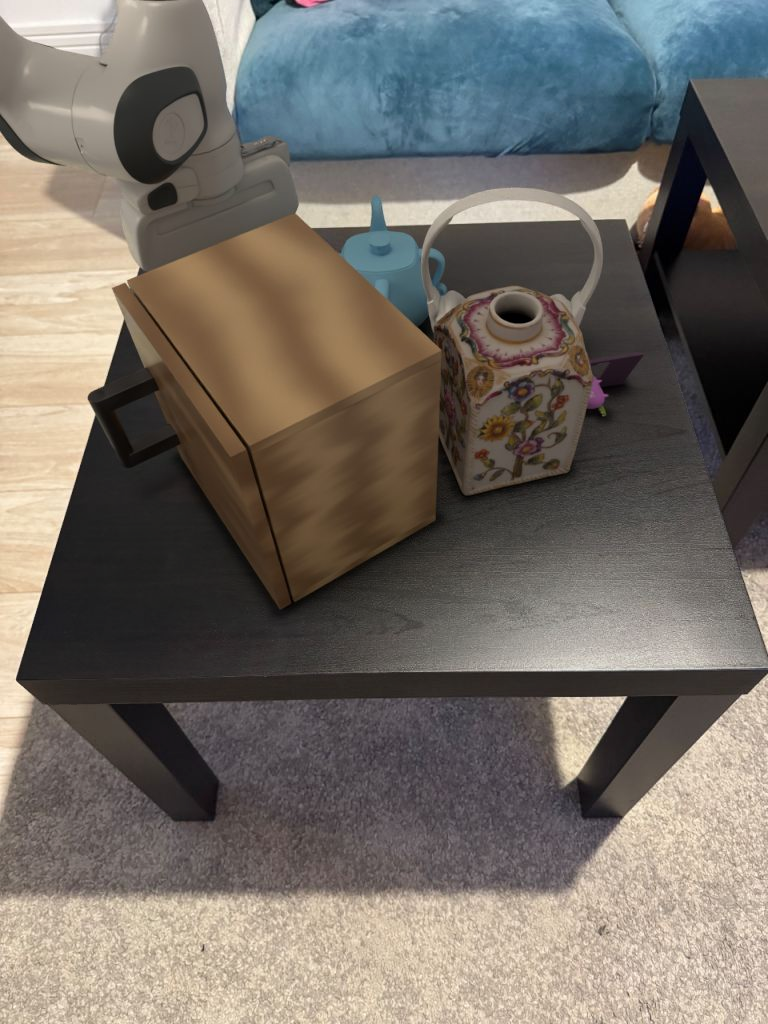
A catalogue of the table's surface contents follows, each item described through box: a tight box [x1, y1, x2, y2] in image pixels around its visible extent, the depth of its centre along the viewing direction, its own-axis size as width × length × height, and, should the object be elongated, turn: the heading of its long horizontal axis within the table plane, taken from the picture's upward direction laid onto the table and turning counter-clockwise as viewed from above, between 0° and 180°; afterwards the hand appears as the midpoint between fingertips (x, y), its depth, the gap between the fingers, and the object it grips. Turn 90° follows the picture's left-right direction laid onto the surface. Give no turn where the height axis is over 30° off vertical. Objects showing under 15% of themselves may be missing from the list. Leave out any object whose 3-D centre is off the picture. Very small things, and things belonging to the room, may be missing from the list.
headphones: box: [421, 187, 604, 334], centre depth 77 cm, size 7×18×20 cm, turn 84°
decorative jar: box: [432, 285, 594, 496], centre depth 70 cm, size 12×12×18 cm
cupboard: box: [126, 212, 442, 603], centre depth 66 cm, size 16×22×22 cm
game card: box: [586, 351, 645, 417], centre depth 78 cm, size 7×5×9 cm
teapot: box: [337, 194, 448, 328], centre depth 86 cm, size 13×14×11 cm
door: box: [87, 282, 292, 610], centre depth 62 cm, size 7×22×22 cm, turn 33°
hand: (227, 271), depth 89 cm, fingers closed, pressing on button
